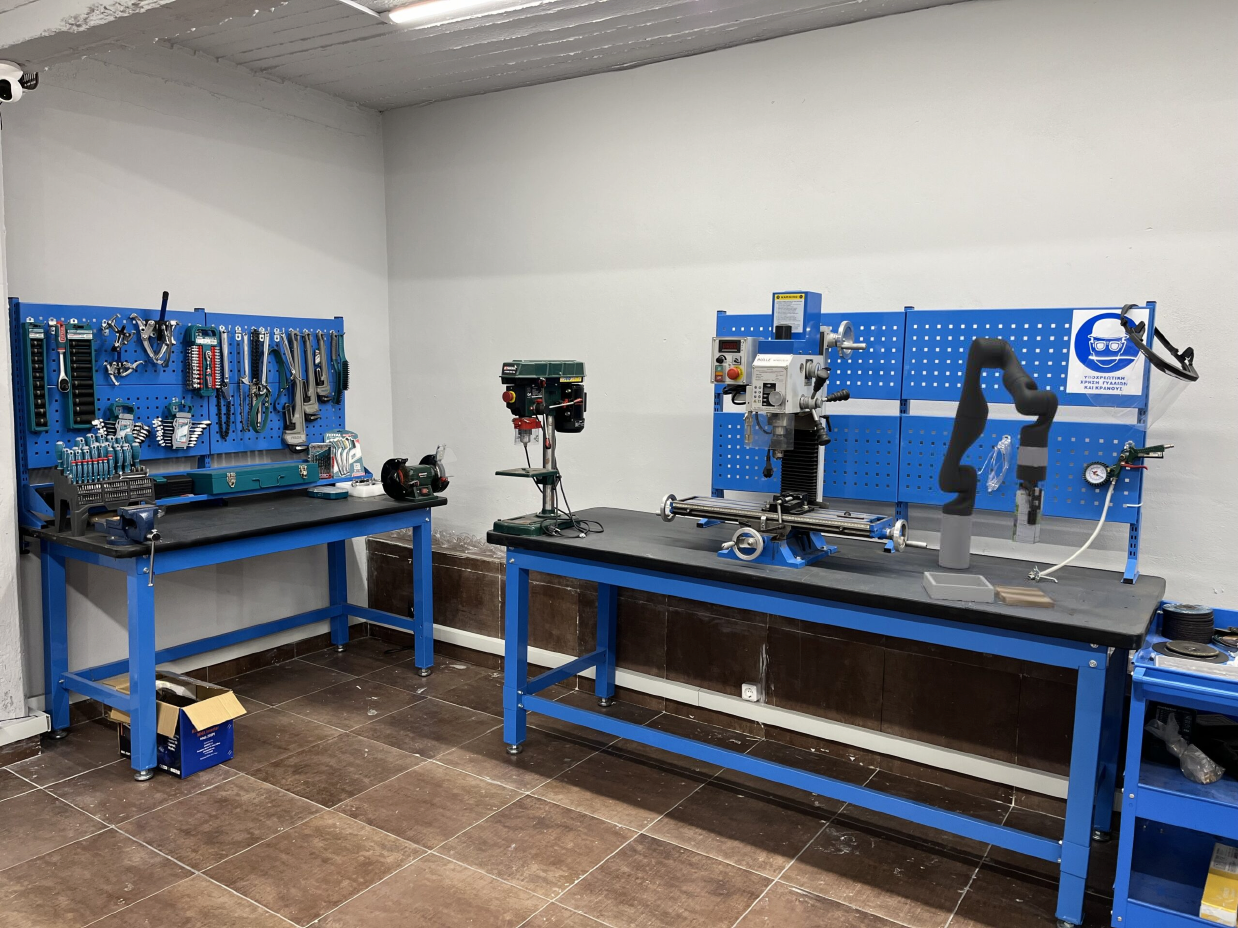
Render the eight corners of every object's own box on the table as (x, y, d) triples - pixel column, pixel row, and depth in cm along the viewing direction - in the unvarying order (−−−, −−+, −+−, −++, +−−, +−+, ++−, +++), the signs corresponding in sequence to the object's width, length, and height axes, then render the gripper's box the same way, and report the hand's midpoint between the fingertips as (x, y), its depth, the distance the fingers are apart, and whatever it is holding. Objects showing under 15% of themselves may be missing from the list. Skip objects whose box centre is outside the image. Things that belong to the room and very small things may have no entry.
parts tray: (923, 585, 257) (924, 571, 256) (980, 589, 254) (981, 575, 254) (932, 598, 241) (933, 584, 241) (993, 602, 238) (994, 588, 238)
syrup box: (1017, 539, 246) (1021, 488, 244) (1040, 542, 242) (1044, 490, 241) (1011, 541, 242) (1015, 489, 240) (1034, 544, 238) (1038, 492, 236)
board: (992, 590, 252) (992, 585, 252) (1036, 593, 250) (1037, 588, 250) (1006, 604, 237) (1006, 599, 237) (1053, 608, 235) (1054, 602, 234)
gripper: (1010, 460, 247) (1006, 517, 249) (1024, 465, 233) (1019, 525, 235) (1039, 461, 246) (1034, 518, 248) (1054, 466, 232) (1049, 527, 234)
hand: (1027, 522), depth 241 cm, fingers closed on syrup box, 7 cm apart
